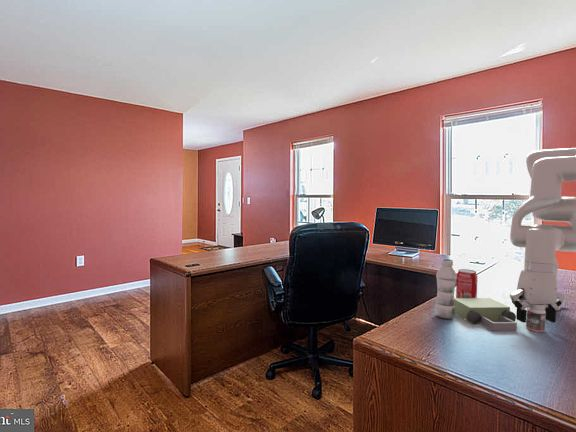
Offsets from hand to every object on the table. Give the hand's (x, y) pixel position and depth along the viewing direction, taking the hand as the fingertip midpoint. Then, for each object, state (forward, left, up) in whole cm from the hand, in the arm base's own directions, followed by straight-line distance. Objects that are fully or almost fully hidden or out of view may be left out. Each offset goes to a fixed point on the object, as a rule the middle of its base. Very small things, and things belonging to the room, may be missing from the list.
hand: (535, 321), depth 103 cm
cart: (+11, -8, -3) cm, 14 cm away
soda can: (+7, -25, -3) cm, 26 cm away
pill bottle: (0, 0, -3) cm, 3 cm away
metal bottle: (+24, -11, -3) cm, 26 cm away
